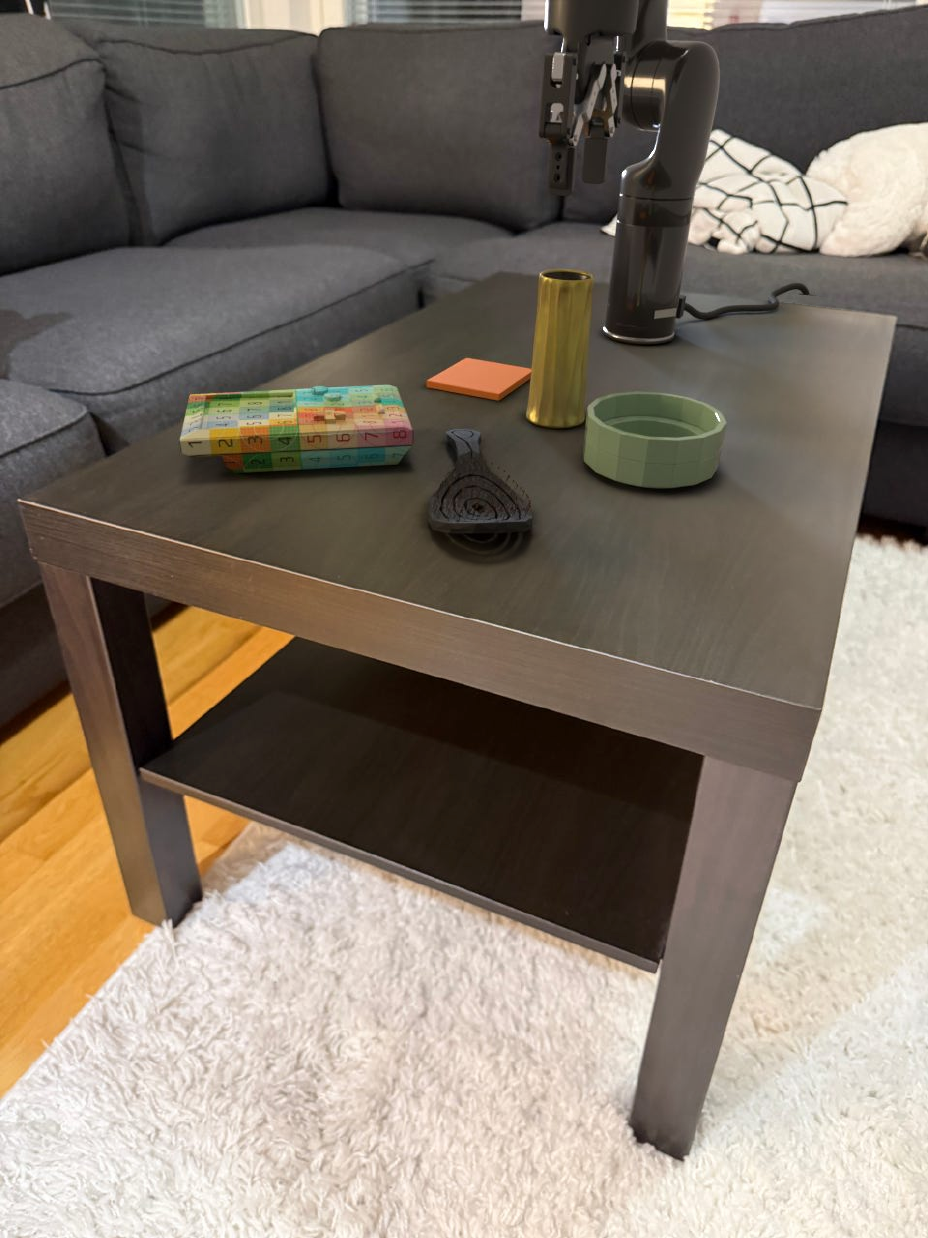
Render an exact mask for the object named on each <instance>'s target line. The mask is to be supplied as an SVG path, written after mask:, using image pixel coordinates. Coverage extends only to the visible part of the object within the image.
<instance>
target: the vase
mask: <svg viewBox="0 0 928 1238" xmlns="http://www.w3.org/2000/svg"><path fill="white" fill-rule="evenodd" d="M594 285H595V275H594V274H592V273H590V272H588V271H584V270H579V269H569V268H555V269H554V268H553V269H547V270H543V271H541V272H540V273H539V277H538V286H537V287H538V288H537V289H538V290H537V291H538V292H537V304H536V318H535V328H534V338H533V349H532V350H533V351H532V362H531V369H532V371H531V379H530V384H529V393H528V401H527V407H526V412H525V417H526V420H528V421H529V422H530V423H532V424H534V425H536V426H539V427H542V428H546V429H547V428H548V429H557V430H559V429H570V428H575V427H578V426H580V425H582V424H583V423H585V421H586V413H585V405H586V404H585V403H586V389H587V377H588V376H587V373H588V358H589V345H590V344H589V342H590V331H591V329H590V327H591V318H592V308H593V298H594V296H593V295H594V287H595V286H594Z"/></svg>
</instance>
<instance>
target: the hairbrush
mask: <svg viewBox="0 0 928 1238" xmlns="http://www.w3.org/2000/svg"><path fill="white" fill-rule="evenodd" d="M445 433H446V434H445V440H446V443H447V444H448V445H450V446H451V447H452V448H453V449H454V450H455V453H456V455H457V460H456V462H455V464H454V466H453V468H452V469H451V470H448V471H447V474H446V475H445V476H444V479H443V480H441V483H440V484H439V487H438V488H437V489H436V491H435V492H434V493H433V494H432V496H431V499H430V502H429V505H428V510H427V522H428V524H429V525H430V526H429V527H431V530H433V531H436V532H441V533H445V534H504V533H506V534H507V533H520V532H521V533H522V532H527V531H529V530H530V529H531V528H533V518H534V517H533V515H532V513H531V512H530V507H531V506H532V504H531V499H530V496H529V495H528V493H526V494H525V492H526V491H525V490H524V489H523V486H520V489H519V493H518V494H517V492H516V491H515V489H517V488H519V487H518V486H519V484H518V482H515V479H513V480H512V484H515V485H514V487H515V489H514V488H512V486H510V485H509V484H507V483H508V481H509V479H510V478H511V474H508V475H507V477H506V479H505V481H504V480H503V479H502V478H500V476H498V475H497V474H495V473H494V472H493V471H491V468H489V465H487V462H488V460H487V459H484V457H483V456H482V455H481V451H480V445H481V443H482V433H481V432H480V431H478V430H475V429H468V428H454V429H450V430H446V432H445ZM493 464H494V462H491V466H493ZM499 469H500V466H497V470H499ZM505 472H506V470H505V469H504V470H503V473H502V475H501V477H503V475H504V473H505ZM520 492H522V496H519V494H520ZM524 494H525V498H524V499H526V500H527V502H528V503H526V501H525V500H523V499H522V498H523V495H524Z"/></svg>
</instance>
